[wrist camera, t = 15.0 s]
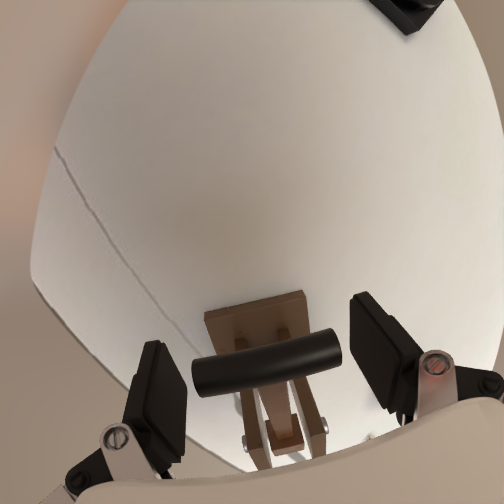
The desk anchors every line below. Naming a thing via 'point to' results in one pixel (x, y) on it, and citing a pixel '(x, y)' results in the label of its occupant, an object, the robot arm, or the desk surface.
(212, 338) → the bracket
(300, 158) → the desk surface
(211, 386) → the lever
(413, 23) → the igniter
